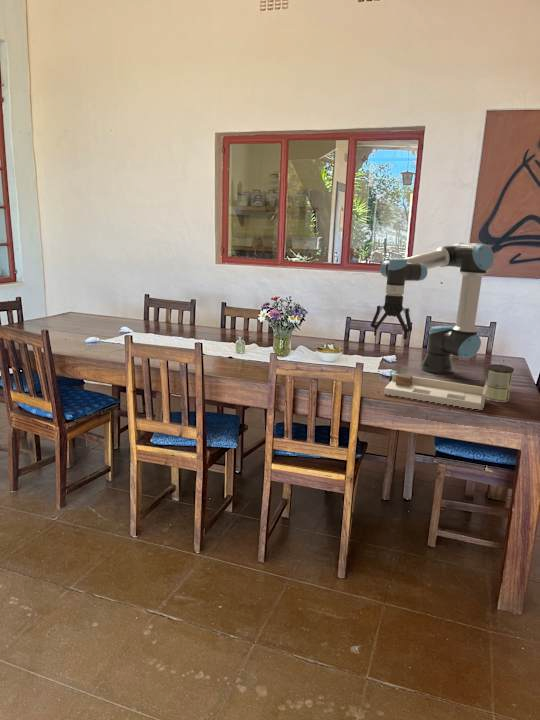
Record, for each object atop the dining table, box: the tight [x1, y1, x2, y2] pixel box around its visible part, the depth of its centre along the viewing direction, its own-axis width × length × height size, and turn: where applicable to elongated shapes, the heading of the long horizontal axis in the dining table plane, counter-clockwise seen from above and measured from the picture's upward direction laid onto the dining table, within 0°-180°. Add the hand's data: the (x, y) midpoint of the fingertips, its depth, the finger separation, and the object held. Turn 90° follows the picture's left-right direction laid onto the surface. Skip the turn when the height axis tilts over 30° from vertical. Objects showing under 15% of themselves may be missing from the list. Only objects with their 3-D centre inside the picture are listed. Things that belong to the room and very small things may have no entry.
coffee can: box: [485, 364, 515, 403], centre depth 225 cm, size 10×10×14 cm
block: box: [396, 372, 413, 387], centre depth 231 cm, size 5×6×4 cm
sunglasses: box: [388, 369, 408, 382], centre depth 244 cm, size 14×15×5 cm
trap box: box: [383, 373, 488, 411], centre depth 224 cm, size 15×40×7 cm, turn 65°
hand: (389, 344), depth 231 cm, fingers open, 10 cm apart
